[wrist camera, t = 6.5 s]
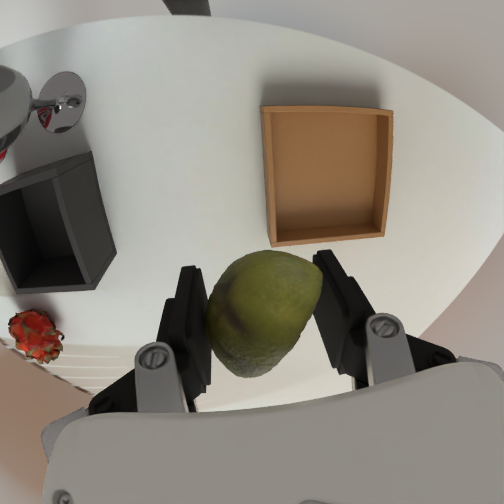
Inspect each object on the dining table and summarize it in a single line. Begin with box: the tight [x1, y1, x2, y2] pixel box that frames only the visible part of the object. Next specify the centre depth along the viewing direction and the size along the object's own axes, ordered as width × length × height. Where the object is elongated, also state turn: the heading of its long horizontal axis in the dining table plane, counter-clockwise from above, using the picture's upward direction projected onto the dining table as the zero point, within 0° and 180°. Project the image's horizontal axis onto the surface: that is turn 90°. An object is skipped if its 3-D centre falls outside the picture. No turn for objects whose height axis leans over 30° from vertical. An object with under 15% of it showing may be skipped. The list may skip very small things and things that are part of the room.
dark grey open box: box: [0, 151, 117, 294], centre depth 25 cm, size 13×13×8 cm
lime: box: [205, 250, 323, 378], centre depth 10 cm, size 4×5×5 cm
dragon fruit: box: [8, 309, 64, 364], centre depth 33 cm, size 8×8×12 cm
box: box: [260, 105, 393, 247], centre depth 27 cm, size 14×13×3 cm
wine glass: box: [0, 65, 86, 154], centre depth 15 cm, size 8×8×15 cm
